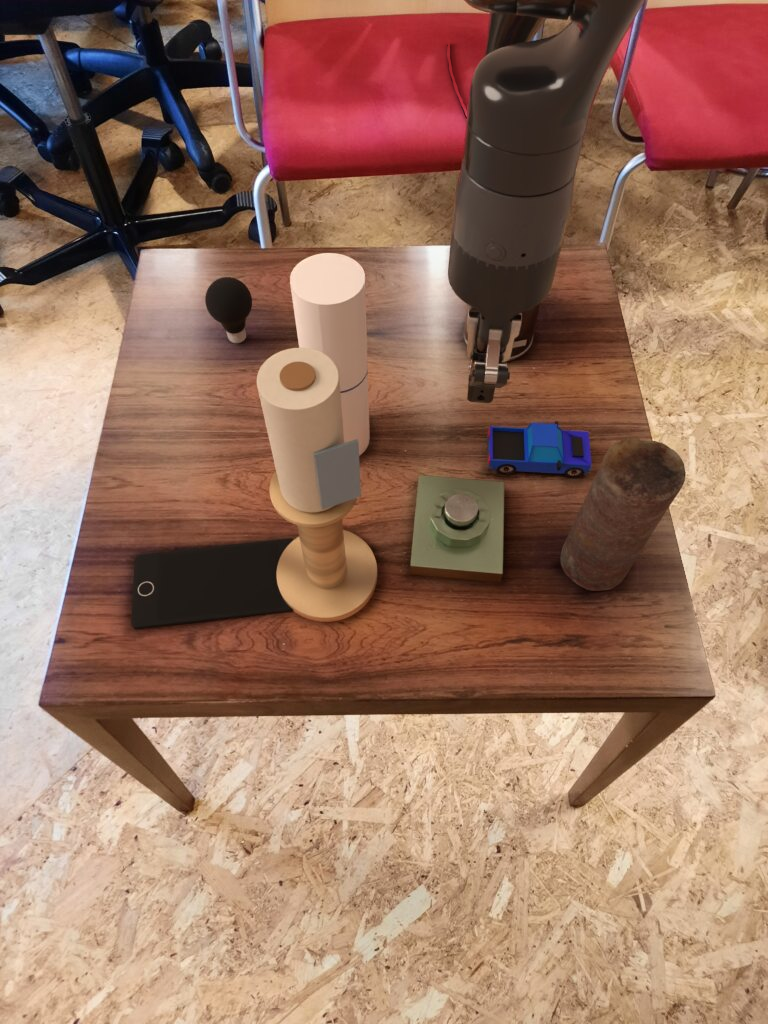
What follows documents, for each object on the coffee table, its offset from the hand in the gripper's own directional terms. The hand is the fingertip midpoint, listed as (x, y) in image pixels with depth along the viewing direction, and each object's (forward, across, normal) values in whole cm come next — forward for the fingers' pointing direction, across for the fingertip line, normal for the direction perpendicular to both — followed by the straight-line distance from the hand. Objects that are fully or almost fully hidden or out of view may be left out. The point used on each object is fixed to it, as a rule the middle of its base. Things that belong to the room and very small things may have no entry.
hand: (479, 395), depth 64 cm
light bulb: (+24, +27, +31) cm, 48 cm away
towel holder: (+24, -7, +14) cm, 28 cm away
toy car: (+24, +11, -9) cm, 28 cm away
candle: (+24, -3, -15) cm, 28 cm away
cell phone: (+24, -9, +26) cm, 37 cm away
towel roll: (+5, -7, +14) cm, 16 cm away
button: (+20, 0, 0) cm, 20 cm away
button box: (+24, 0, 0) cm, 24 cm away
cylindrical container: (+24, +12, +15) cm, 31 cm away
